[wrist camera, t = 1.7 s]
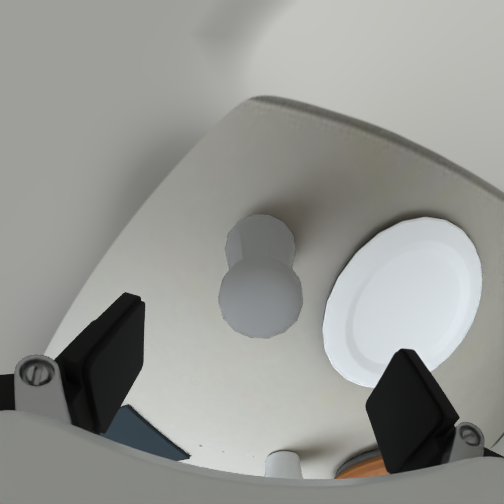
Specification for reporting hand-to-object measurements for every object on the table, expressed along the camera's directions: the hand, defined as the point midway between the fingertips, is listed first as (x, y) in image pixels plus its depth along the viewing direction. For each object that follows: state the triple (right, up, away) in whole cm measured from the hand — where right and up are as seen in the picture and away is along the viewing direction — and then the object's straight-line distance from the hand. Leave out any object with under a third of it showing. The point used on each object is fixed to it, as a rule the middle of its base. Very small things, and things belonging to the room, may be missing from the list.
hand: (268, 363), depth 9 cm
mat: (-20, -27, +26) cm, 43 cm away
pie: (+20, -34, +27) cm, 48 cm away
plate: (+17, -2, +18) cm, 25 cm away
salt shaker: (0, +5, +17) cm, 17 cm away
